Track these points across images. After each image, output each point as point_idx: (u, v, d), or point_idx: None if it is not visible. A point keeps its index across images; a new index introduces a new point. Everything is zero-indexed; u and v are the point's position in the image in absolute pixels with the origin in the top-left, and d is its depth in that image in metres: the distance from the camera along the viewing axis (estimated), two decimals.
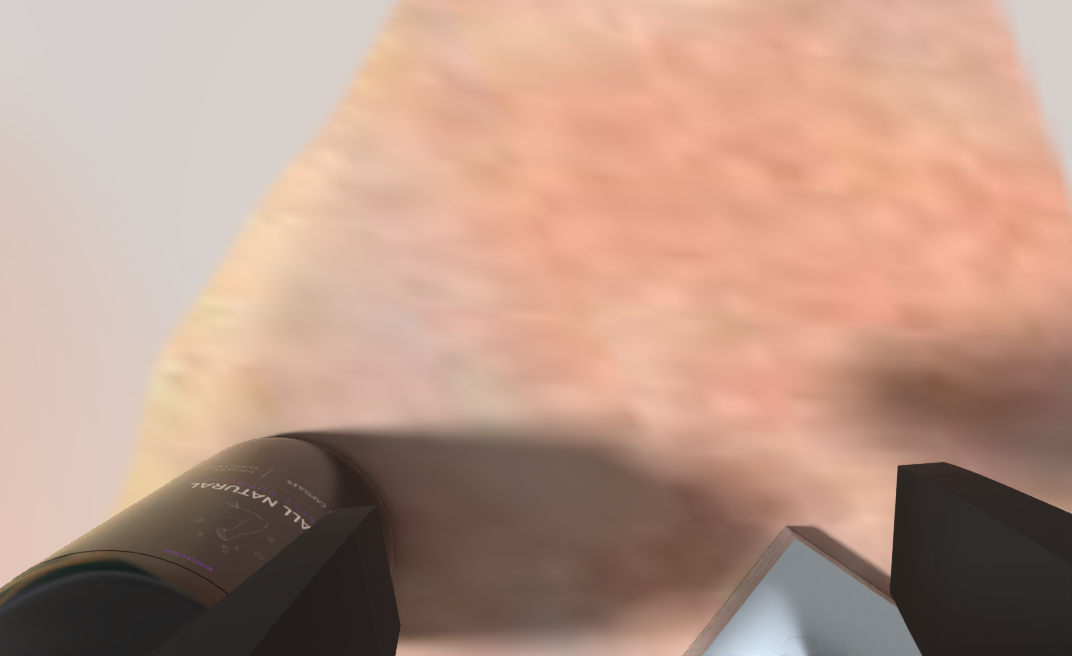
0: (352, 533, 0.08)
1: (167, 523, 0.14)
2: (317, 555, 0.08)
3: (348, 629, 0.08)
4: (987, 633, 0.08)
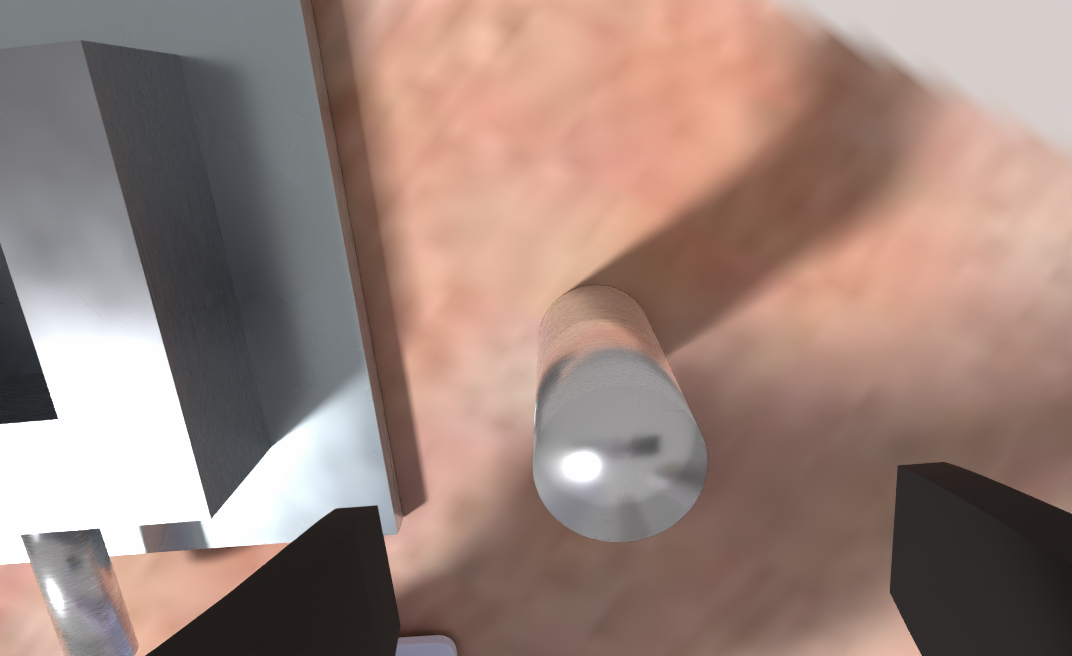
0: (352, 533, 0.08)
1: None
2: (317, 555, 0.08)
3: (348, 629, 0.08)
4: (988, 634, 0.08)
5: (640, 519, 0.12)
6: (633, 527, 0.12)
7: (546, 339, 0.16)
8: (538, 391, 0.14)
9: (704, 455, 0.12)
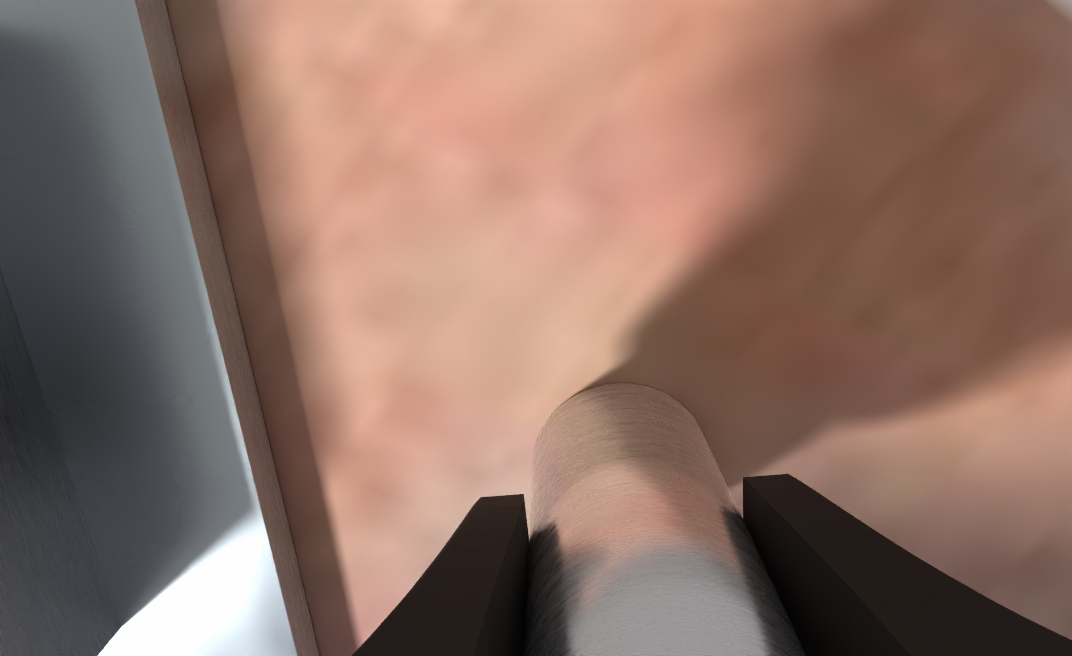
0: (517, 521, 0.08)
1: None
2: (493, 542, 0.08)
3: (519, 617, 0.08)
4: None
5: None
6: None
7: (544, 496, 0.09)
8: (528, 640, 0.07)
9: None
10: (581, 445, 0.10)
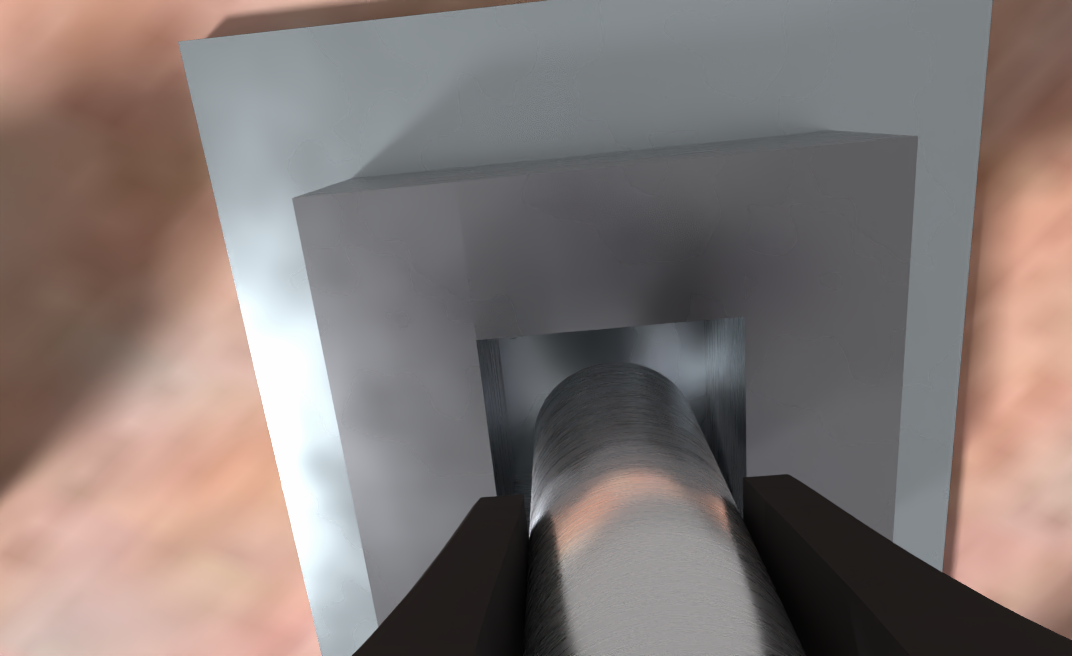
0: (517, 521, 0.08)
1: None
2: (493, 542, 0.08)
3: (519, 617, 0.08)
4: None
5: None
6: None
7: (537, 475, 0.10)
8: (526, 599, 0.08)
9: None
10: (565, 424, 0.11)
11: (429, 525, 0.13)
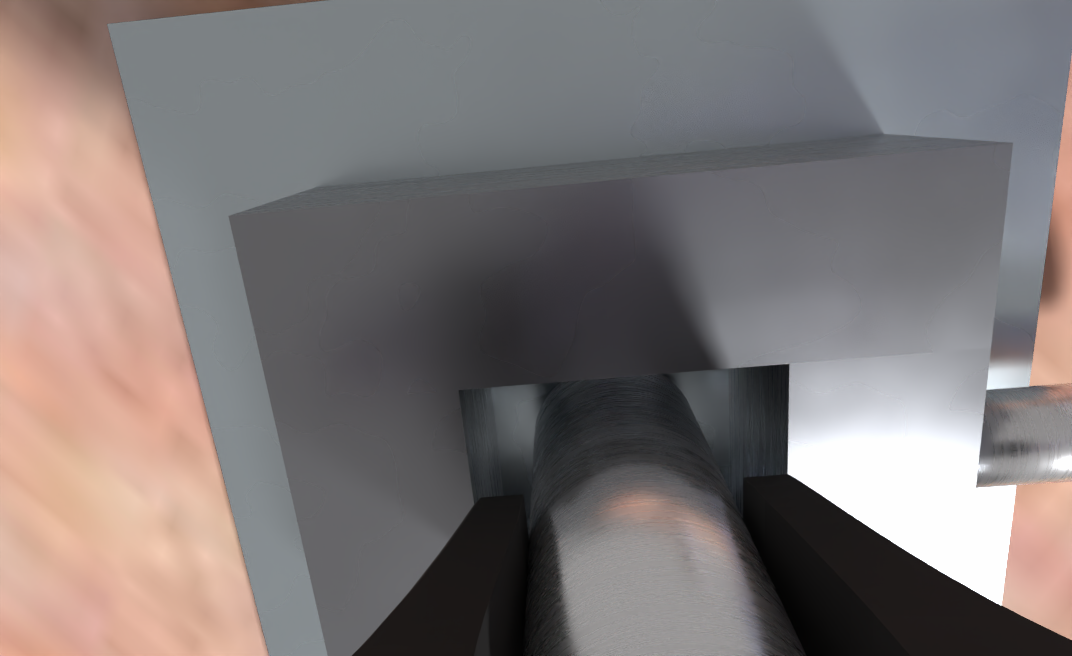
0: (517, 521, 0.08)
1: None
2: (493, 542, 0.08)
3: (519, 617, 0.08)
4: None
5: None
6: None
7: (537, 475, 0.10)
8: (526, 598, 0.08)
9: None
10: (565, 424, 0.11)
11: None
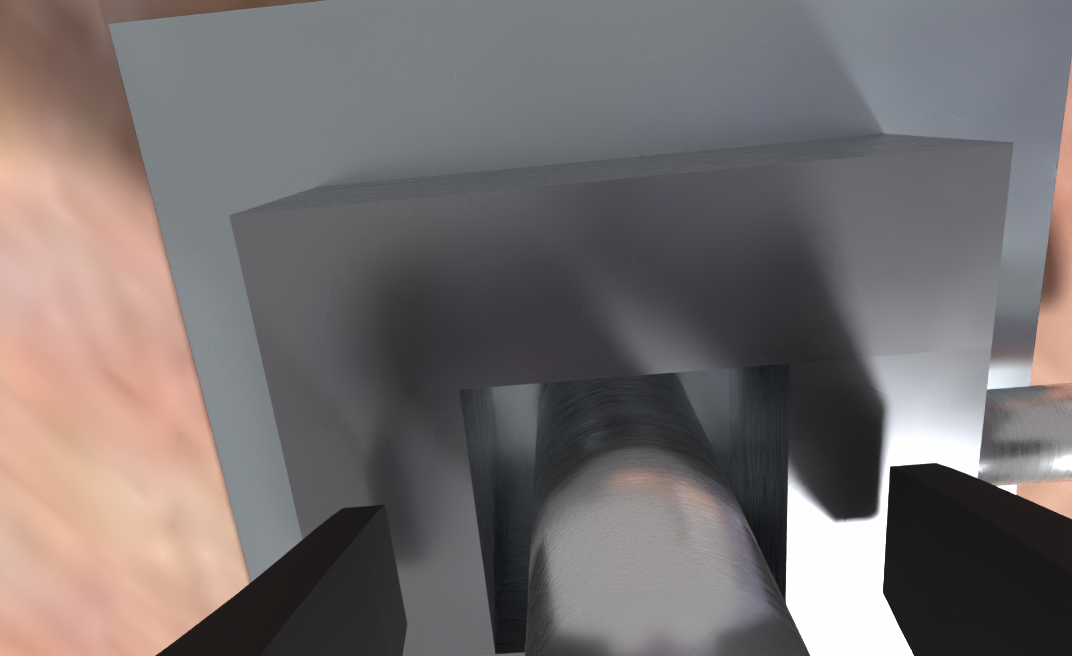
0: (360, 532, 0.08)
1: None
2: (326, 554, 0.08)
3: (357, 628, 0.08)
4: (977, 634, 0.08)
5: None
6: None
7: (540, 448, 0.11)
8: (530, 554, 0.09)
9: None
10: (566, 402, 0.12)
11: None
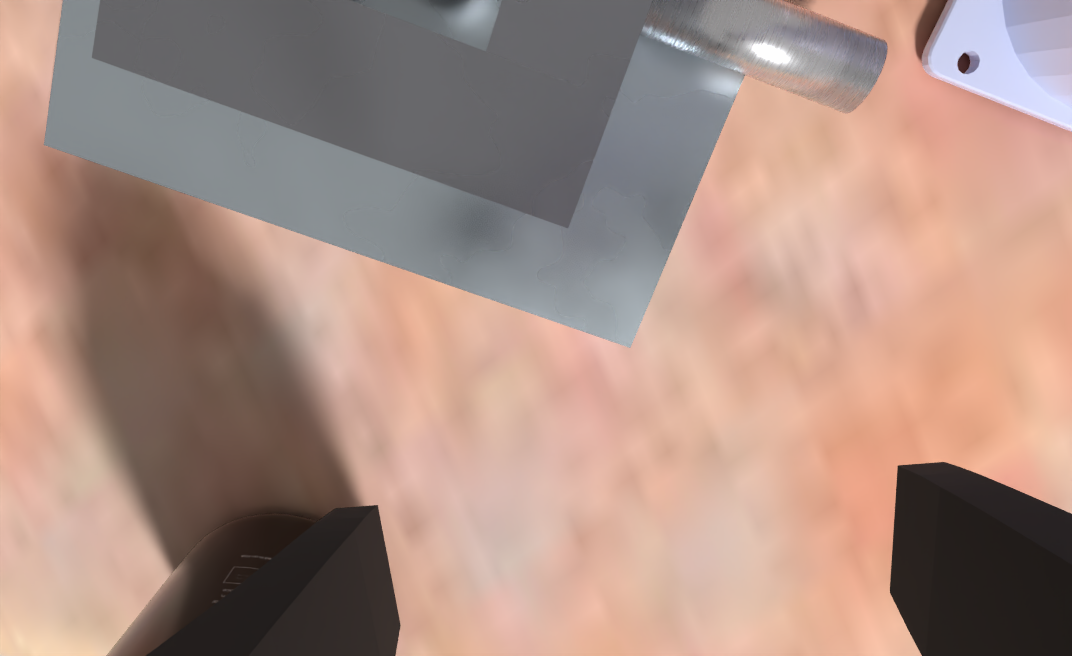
0: (352, 533, 0.08)
1: None
2: (317, 555, 0.08)
3: (348, 629, 0.08)
4: (988, 633, 0.08)
5: None
6: None
7: None
8: None
9: None
10: None
11: (417, 101, 0.14)
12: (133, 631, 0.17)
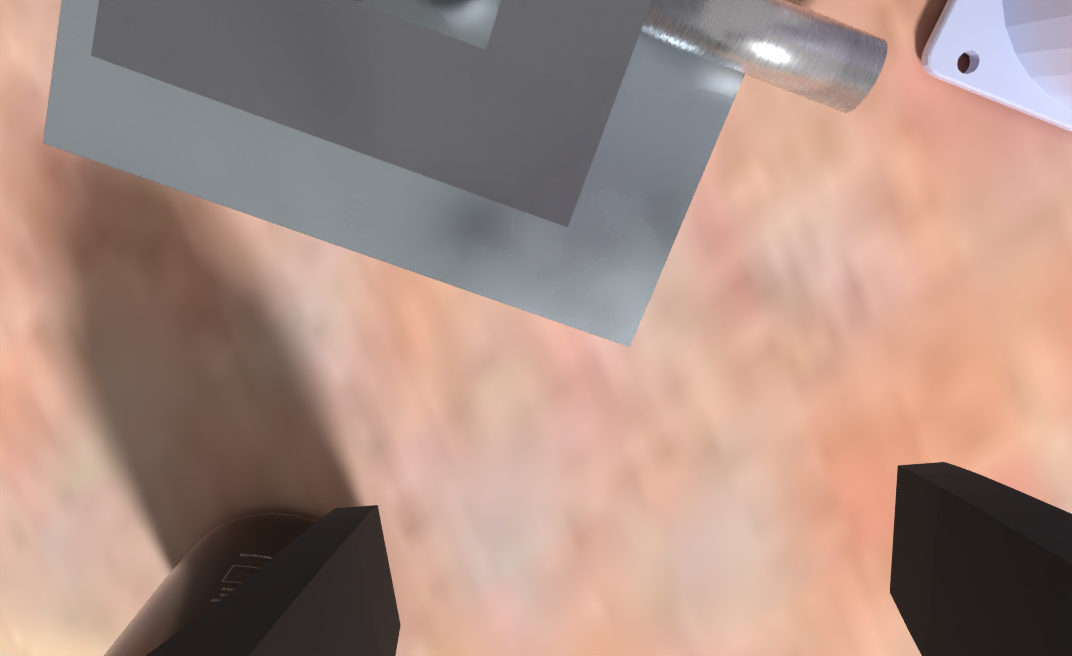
0: (352, 533, 0.08)
1: None
2: (317, 555, 0.08)
3: (348, 629, 0.08)
4: (988, 634, 0.08)
5: None
6: None
7: None
8: None
9: None
10: None
11: (416, 99, 0.14)
12: (131, 630, 0.17)
